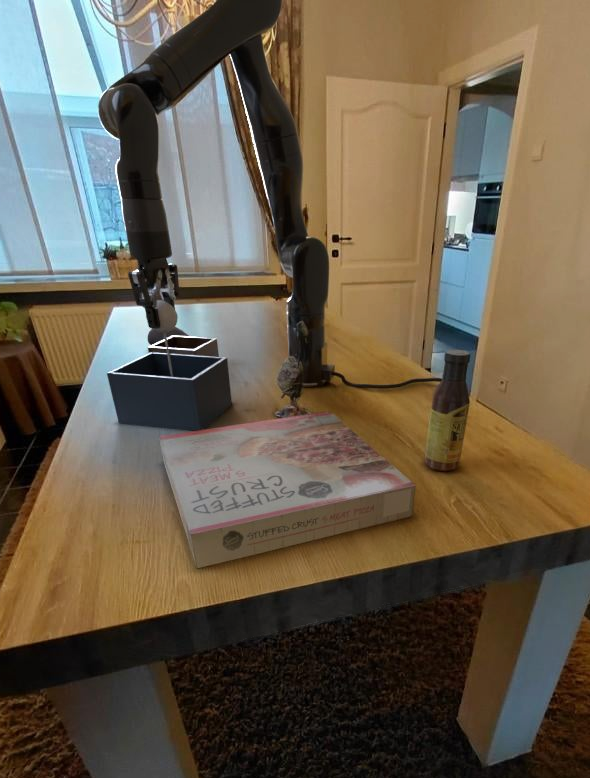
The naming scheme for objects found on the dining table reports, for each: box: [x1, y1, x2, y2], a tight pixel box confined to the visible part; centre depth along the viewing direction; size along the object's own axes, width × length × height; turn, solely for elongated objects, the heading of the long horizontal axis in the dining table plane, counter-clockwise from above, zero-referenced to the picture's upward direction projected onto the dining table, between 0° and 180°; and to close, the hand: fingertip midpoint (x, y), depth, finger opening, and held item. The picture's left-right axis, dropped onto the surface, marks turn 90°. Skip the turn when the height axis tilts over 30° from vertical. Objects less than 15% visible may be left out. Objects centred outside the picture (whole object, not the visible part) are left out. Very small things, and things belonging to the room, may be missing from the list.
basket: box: [147, 336, 220, 357], centre depth 136 cm, size 14×14×7 cm
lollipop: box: [145, 300, 179, 377], centre depth 101 cm, size 6×6×15 cm
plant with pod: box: [273, 321, 312, 418], centre depth 103 cm, size 8×11×20 cm
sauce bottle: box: [424, 349, 471, 472], centre depth 83 cm, size 6×6×20 cm
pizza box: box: [158, 410, 417, 569], centre depth 79 cm, size 32×5×32 cm
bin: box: [106, 352, 233, 432], centre depth 106 cm, size 19×17×11 cm
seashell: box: [147, 326, 191, 346], centre depth 157 cm, size 14×19×8 cm
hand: (163, 324), depth 99 cm, fingers closed on lollipop, 6 cm apart
